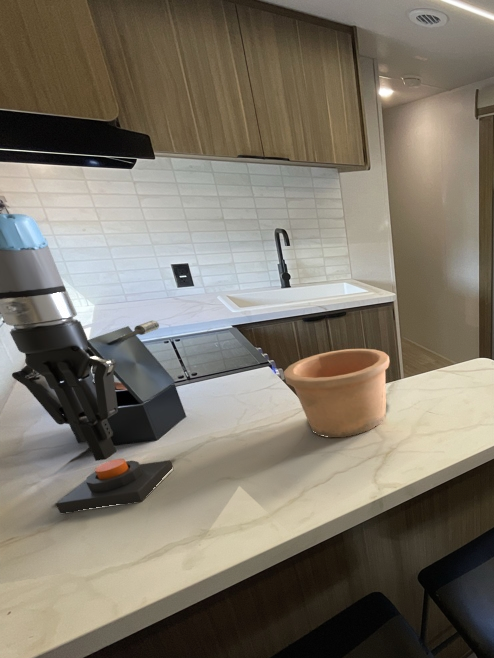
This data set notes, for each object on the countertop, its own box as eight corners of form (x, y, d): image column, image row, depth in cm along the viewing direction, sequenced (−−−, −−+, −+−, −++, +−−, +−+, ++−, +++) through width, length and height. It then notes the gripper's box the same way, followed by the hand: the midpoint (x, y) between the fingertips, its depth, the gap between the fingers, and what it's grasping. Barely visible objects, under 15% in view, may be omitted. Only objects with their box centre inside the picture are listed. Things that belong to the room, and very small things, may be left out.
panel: (60, 514, 66) (49, 494, 65) (103, 479, 76) (94, 461, 74) (142, 502, 68) (133, 482, 67) (174, 469, 78) (167, 451, 76)
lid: (83, 341, 80) (124, 322, 80) (125, 327, 92) (160, 311, 92) (140, 403, 86) (178, 386, 86) (172, 383, 98) (206, 367, 98)
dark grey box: (81, 450, 87) (63, 414, 84) (120, 424, 99) (106, 391, 95) (157, 440, 89) (142, 405, 86) (186, 416, 101) (174, 384, 98)
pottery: (363, 394, 108) (354, 343, 103) (416, 415, 95) (408, 357, 90) (282, 426, 93) (266, 368, 88) (330, 455, 80) (315, 389, 74)
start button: (92, 481, 69) (88, 473, 68) (109, 468, 72) (105, 460, 72) (119, 478, 69) (115, 469, 69) (134, 465, 73) (130, 457, 72)
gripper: (-32, 332, 57) (44, 474, 65) (74, 323, 59) (134, 461, 67) (16, 321, 64) (79, 450, 72) (110, 313, 66) (161, 440, 74)
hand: (106, 455), depth 69 cm, fingers closed
